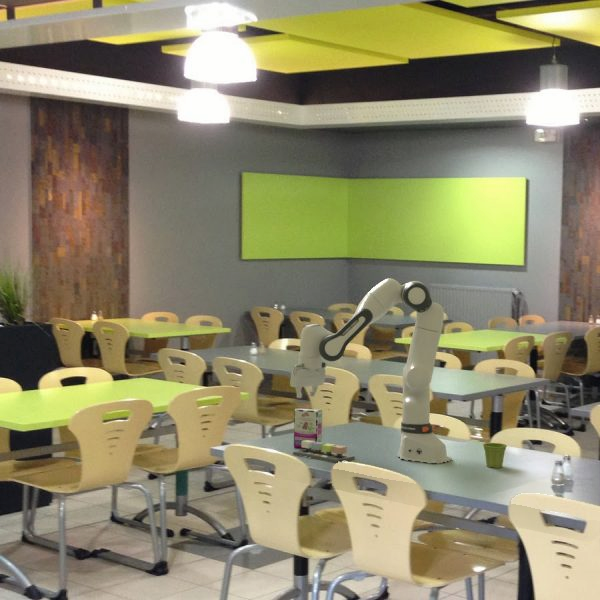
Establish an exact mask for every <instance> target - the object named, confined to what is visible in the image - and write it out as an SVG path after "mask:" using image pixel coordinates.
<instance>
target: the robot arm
mask: <svg viewBox="0 0 600 600" xmlns="http://www.w3.org/2000/svg"><path fill="white" fill-rule="evenodd" d="M398 304H404V306H406V307H408V308H409V309H412V310H414V311H416V312H415V313H416V319H415V323H414V327H413V332H412V336H411V340H410V345H409V350H408V354H407V360H406V364H405V366H404V367H403V370H402V416H401V417H402V421H401V422H400V432H401V435H400V436H401V437H400V438H401V439H400V445H399V449H398V453H397V455H396V456H397V457H398V458H399V457H400V458H399V460H401V459H405V460H404V461H408V460H412V461H411V462H415V461H420V462H419V463H423V462H427V463H426V464H431V463H437V464H442V463H443V462H445V463H447V461H449V462H451V461H452V460H453V456H449V455H447V447H446V444H445V443H444V442H443V441H442V440H441V439H440V438H439V437H438V436H437V434H435V433H434V429H436V428H435V427H436V426H435V425H432V424H431V423H430V416H431V415H430V413H431V407H430V406H431V403H430V402H431V400H430V398H431V397H430V395H431V393H430V391H431V389H430V386H431V385H430V384H431V382H432V379H433V374H434V368H435V363H436V358H437V352H438V348H439V344H440V338H441V335H442V330H443V325H444V316H445V315H444V314H445V311H444V308H443V306H442V305H441V304H440V303H437V302H434V301H432V297H431V294H430V290H429V288H428V287H427V286H426V285H425V284H424V283H423V282H421V281H418V280H413V281H408V282H404V283H399V282H398V281H397V280H396V279H394V278H391V277H389V278H385V279H384V280H382V281H381V282H379V283H378V284H376V285H375V286H374V287H373V288H371V290H370V291H368V292H367V293H366V294H365V296H364V297H362V299H361V300H360V302H359V303H358V305H357V308H356V310H355V312H354V313H353V315H352V317H351V318H350V319H349V320H348V321H347V322H346V323H345V324H344V326H342V327H340V329H339V330H338V331H337V332H336V333H333V332H331V331H330V330H328V329H326V328H325V327H324V326H323V325H322V324H319V323H312V324H311V323H310V324H307V325H305V326H304V327H303V328H302V330H301V334H300V340H299V346H300V351H299V354H298V362H297V364H295V366H294V367H293V369H292V371H291V375H290V381H289V386H290V387H292V388H295V391H296V392H295V393H296V398H297V399H302V398H303V393H302V389H303V388H307V387H311V390H310V392H309V396H310V397H316V392H317V390H318V388H319V386H323V385H324V383H325V381H326V368H327V365H328V364H327V362H337V361H338V360H340V359H341V358H342V357H343V355H344V353H345V351H346V348H347V347H348V345H349V343H350V342H352V341H353V340H354V339H355V338H356V337H357V335H359V334H360V332H361V331H363V330H365V328H367V327H368V326H370V325H372V324H373V323H375V322H377V321H379V319H381V318H382V317H384V316H386V314H387V313H388V312H389V311H390V310H391V309H392V308H393V307H394V306H396V305H398ZM321 357H322V359H323V360H325V361H323V360H322V359H321ZM326 361H327V362H326ZM450 460H451V461H450Z"/></svg>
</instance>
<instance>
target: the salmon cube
mask: <svg viewBox="0 0 600 600" xmlns="http://www.w3.org/2000/svg"><path fill="white" fill-rule="evenodd" d="M347 448H348V447H347V446H346V445H345V446H344V445H339V444H338V445H336V446H333V453H336V454H337V455H338V456H342V454H347V452H348V451H347V450H348V449H347Z"/></svg>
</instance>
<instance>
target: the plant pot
mask: <svg viewBox="0 0 600 600" xmlns="http://www.w3.org/2000/svg"><path fill="white" fill-rule="evenodd" d="M482 446H483V449H484V454H485V455H484V456H485V462H486V464H485V465H486V467H487V466H488V468H495V469H499V467H500V468H503V464H504V459H505V458H504V457H505V452H506V450H507V449H506V448H507V446H508V444H505V443H500V442H485V443H482Z"/></svg>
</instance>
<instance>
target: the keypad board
mask: <svg viewBox="0 0 600 600" xmlns="http://www.w3.org/2000/svg"><path fill="white" fill-rule="evenodd" d="M309 452H310V453H309ZM293 454H294V456H298V455H301V456H300V457H303V456H307V457H306V458H308V457H311V458H310V459H314V458H316V459H315V460H319V459H321V460H320V461H324V460H325V461H324V462H330V461H331V463H336V462H338V461H343V460H349V461H352V460H355V459H356V458H355V457H356V455H350V454H346V453H344V454H342V456H338V455H337V454H336V453H333V452H332V453H331V454H327V453H326V452H325V451H322V450H321V452H316V450H314V449H312V448H311V450H305V449H299V450H295V451H292V455H293ZM336 464H337V463H336Z"/></svg>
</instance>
